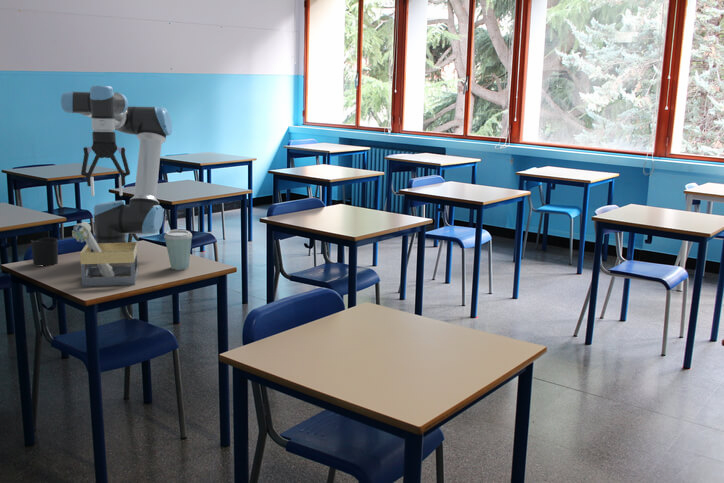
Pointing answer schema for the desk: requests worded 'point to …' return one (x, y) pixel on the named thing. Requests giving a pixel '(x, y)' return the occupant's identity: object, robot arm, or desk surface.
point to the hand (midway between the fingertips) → (107, 195)
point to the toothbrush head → (91, 245)
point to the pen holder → (45, 251)
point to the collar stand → (110, 254)
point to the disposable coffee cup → (178, 248)
